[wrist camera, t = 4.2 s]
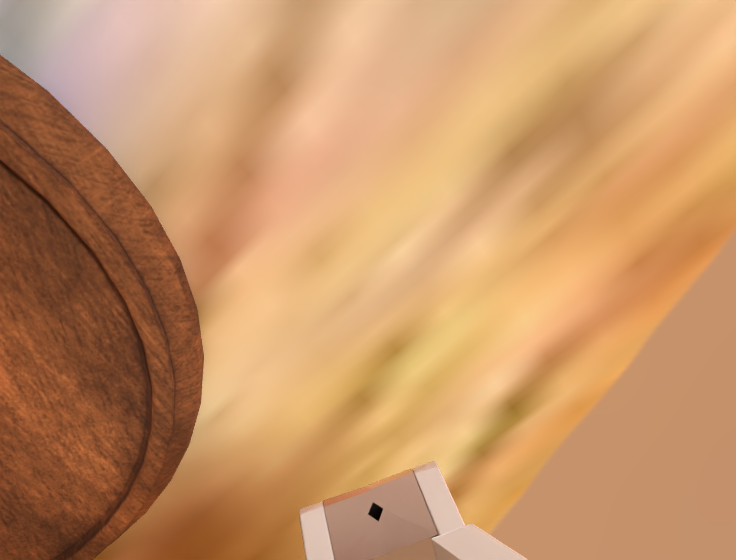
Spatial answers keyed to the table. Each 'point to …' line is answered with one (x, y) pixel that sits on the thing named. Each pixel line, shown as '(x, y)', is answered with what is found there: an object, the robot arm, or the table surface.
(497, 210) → the table surface
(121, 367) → the cutting board
